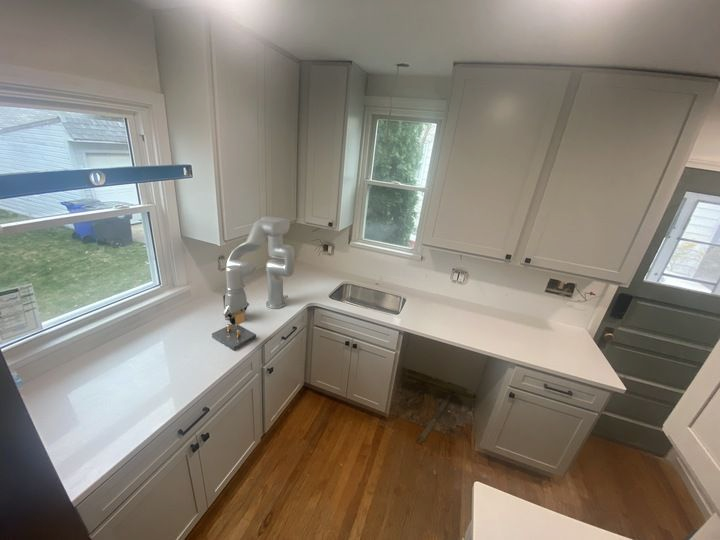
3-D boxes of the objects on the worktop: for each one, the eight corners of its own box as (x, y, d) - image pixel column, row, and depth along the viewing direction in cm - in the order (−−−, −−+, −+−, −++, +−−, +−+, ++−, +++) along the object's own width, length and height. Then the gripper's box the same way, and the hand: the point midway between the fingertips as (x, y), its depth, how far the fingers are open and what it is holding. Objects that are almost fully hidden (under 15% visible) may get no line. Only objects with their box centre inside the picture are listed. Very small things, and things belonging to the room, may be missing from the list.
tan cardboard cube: (238, 318, 154) (238, 309, 152) (244, 321, 152) (244, 312, 150) (230, 322, 150) (229, 312, 148) (236, 325, 148) (235, 316, 146)
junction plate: (234, 326, 167) (234, 316, 165) (256, 338, 159) (255, 328, 156) (212, 337, 156) (210, 327, 153) (233, 350, 147) (232, 340, 145)
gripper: (244, 282, 153) (246, 312, 159) (214, 293, 139) (217, 325, 146) (254, 286, 149) (255, 317, 156) (224, 297, 136) (227, 331, 142)
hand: (237, 321), depth 151 cm, fingers closed on tan cardboard cube, 4 cm apart
